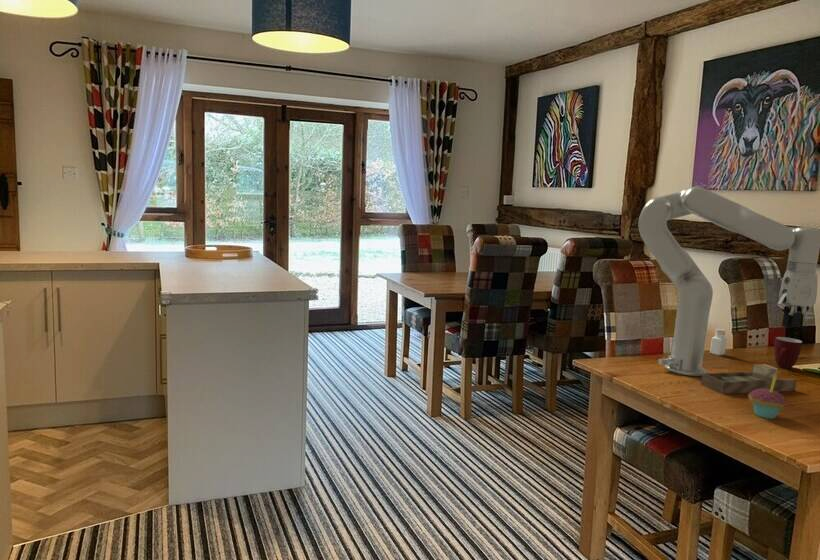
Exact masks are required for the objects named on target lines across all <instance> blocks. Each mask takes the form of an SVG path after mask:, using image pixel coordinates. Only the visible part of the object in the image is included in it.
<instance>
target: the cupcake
mask: <svg viewBox="0 0 820 560" xmlns="http://www.w3.org/2000/svg"><path fill="white" fill-rule="evenodd" d="M776 375H778V373H777V374H776ZM776 375H775V377H774V378H773V381H772V385H771V388H770V390H769V389H765V388H758V389H756V390H755V389H754V390H753V391H751V392H750V393H748V396H747V397H748V400H750V402H752V406H753V411H754V414H755V415H756V416H758V417H761V418H764V419H776V417H777V415H778V414H779V412H780V410H781V409H782V408H783V407H786V398H785V397H784V396H783V394H781V393H779V392H780V391H773V388H774V385H775V382H776V380H777V379H778V378H777V377H778V376H777V377H776Z"/></svg>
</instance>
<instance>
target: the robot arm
mask: <svg viewBox="0 0 820 560" xmlns="http://www.w3.org/2000/svg"><path fill="white" fill-rule="evenodd" d="M689 215H695V216H697V217H700V218H702V219H703V220H706V221H707V222H710V223H712V224H714V225H716V226H718V227H720V228H723V229H724V230H727V231H729V232H733V233H736V234H740V235H742V236H744V237H747V238H748V239H751V240H753V241H755V242H756V243H760V244H762V245H763V246H765V247H767V248H769V249H772V250H775V251H778V252H779V251H785V250H789V252H788V258H787V264H786V271H785V273H784V275H783V277H782V281H781V285H780V288H779V295H778V302H777V303H776V306H778V307H779V308H780V309H781V311H782V314H783V316H782V323H781V326H782V327H785V328H789V329H792V328H793V327H795V328H799V329H802V328H803V324H804V317H805V316H806V314H807V312H808V310H809V309H811V308H813V307H814V305H815V304H816V301H817V297H818V296H817V295H818V283H819V281H818V274H817V273H816V271H817V266H818V261H819V255H820V229H819V228H813V227H801V226H800V227H793V226H792V227H790V226H787V225H785V224H782V223H780V222H778V221H777V220H773V218H772V219H771V218H769V217H767V216H765V215H762V214H760V213H759V212H755V211H754V210H752V209H750V208H748V207H746V206H744V205H742V204H740V203H737V202H736V201H734V200H731V199H729V198H727V197H724V196H722V195H720V194H718V193H716V192H713V191H711V190H710V189H707V188H704V187H702V186H698V185H697V186H691V187H689V188H686V189H683V190H680V191H676V192H674V193H673V192H672V193H670V194H666V195H661V196H654V197H652V198H650V199H649V200H648V201H647V202H646V203H645V204H644V206H643V208H642V210H641V212H640V214H639V217H638V223H637V224H638V225H637V226H638V230H639V235H640V238H641V239H642V241H643V243H644V244H645V245H646V247H647V249H648V250H649V252H650V254H651V255H652V256H653V257H654V259H655V260H656V262H657V263H658V265H659V266H660V269H661V271H662V272H663V273H664V274H665V275H666V276H667V277H668V278H669V280H670V281H671V282H672V284H673V285H674V287H675V288H676V289H677V290H678V292H679V293H678V303H677V308H676V316H675V325H674V331H673V332H674V333H673V340H672V346H671V354H670V355H669V354H668V357H666V358H659V359H658V360H657V362H658V364H659V366H660V365H661V366H662V365H664V368H665V369H666V370H667V371H670V372H672V373H675V374H679V375H682V376H683V375H684V376H690V377H702V373H707V370H706V369H705V368H704V367H703V360H704V353H705V345H706V340H707V331H708V326H709V325H708V324H709V318H710V312H711V307H712V302H713V294H714V293H713V292H714V290H713V286H712V284H711V283H710V281H709V279H708V278H707V277H706V276H705V275H704V273H703V272H702V270H701V269H700V267H698V265H697V263H696V262H695V261H694V260H693V258H692V256H691V255H690V254H689V253H688V251H687V250H685V249H683V247H682V246H681V245H680V244H679V242H678V241H677V240H676V238H675V236H674V235H673V234H672V233H671V231H670V230H669V228H668V224H667V222H668V221H670V220H674V219H678V218H681V217H686V216H689Z"/></svg>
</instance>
